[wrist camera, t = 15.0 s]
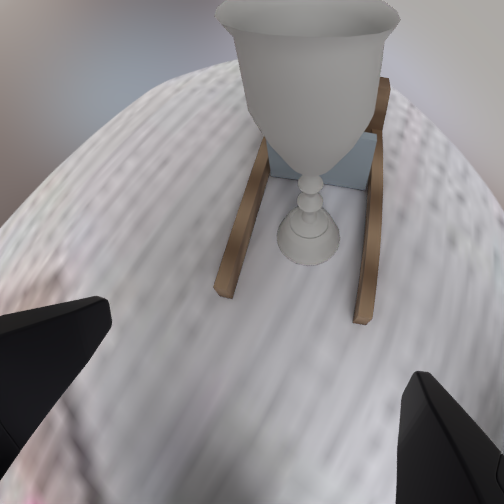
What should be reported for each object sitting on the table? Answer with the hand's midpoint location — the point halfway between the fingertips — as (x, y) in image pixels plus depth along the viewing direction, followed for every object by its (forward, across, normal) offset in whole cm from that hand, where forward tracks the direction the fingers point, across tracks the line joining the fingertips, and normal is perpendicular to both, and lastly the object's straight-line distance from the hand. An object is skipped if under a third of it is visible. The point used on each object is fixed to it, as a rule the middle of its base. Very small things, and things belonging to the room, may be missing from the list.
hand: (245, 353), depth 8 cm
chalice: (+18, 0, +2) cm, 18 cm away
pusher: (+21, 0, -2) cm, 21 cm away
